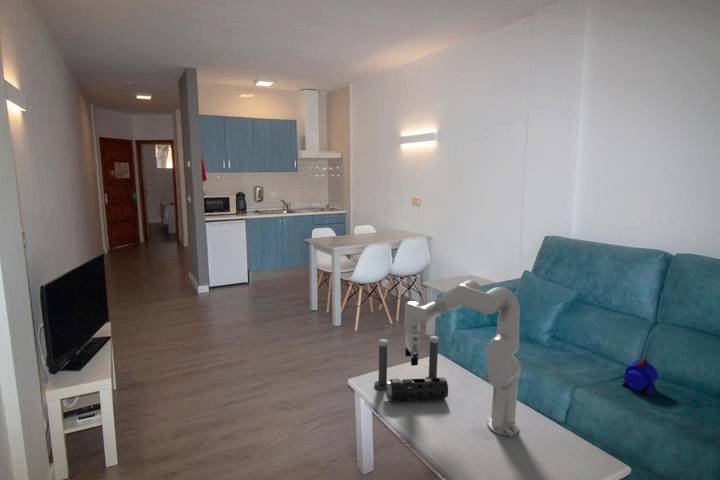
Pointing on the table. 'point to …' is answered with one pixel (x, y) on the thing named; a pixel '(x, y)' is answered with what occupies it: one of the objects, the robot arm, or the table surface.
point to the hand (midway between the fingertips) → (411, 360)
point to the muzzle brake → (416, 389)
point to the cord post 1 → (382, 365)
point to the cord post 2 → (433, 357)
